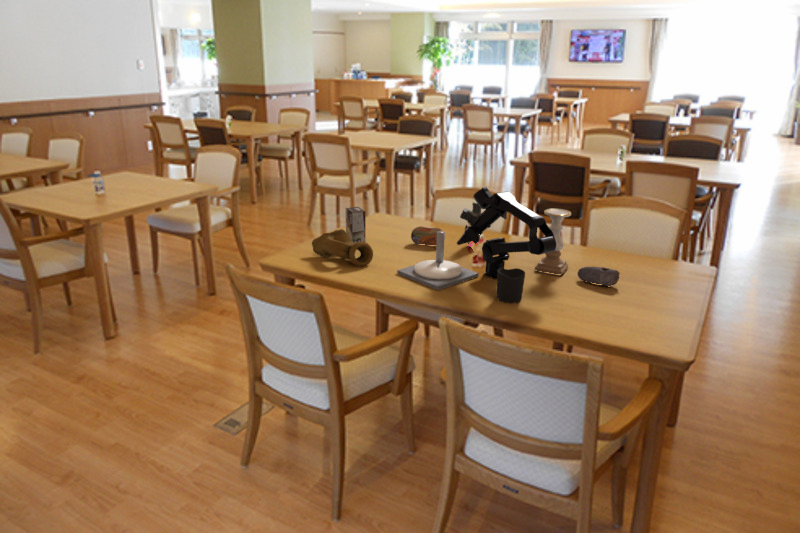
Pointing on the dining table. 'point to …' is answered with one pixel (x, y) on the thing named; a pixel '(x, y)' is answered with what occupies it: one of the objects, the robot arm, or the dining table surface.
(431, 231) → the tin
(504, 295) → the pen holder
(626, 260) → the dining table surface
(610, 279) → the perforated stone tool
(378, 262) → the dining table surface
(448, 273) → the dial
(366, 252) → the brown looped sculpture
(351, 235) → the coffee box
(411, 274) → the dial board
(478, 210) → the sauce bottle
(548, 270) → the candle holder
